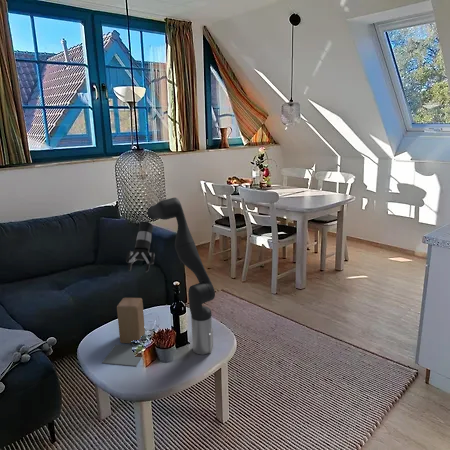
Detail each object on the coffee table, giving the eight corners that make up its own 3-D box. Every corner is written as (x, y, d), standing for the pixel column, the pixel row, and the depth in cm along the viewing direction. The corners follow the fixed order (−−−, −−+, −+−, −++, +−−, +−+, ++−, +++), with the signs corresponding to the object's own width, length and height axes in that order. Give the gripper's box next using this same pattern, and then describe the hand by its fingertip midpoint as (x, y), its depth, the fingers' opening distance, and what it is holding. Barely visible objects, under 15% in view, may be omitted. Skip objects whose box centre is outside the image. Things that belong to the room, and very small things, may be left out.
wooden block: (145, 333, 201) (142, 297, 195) (139, 344, 191) (136, 307, 185) (126, 332, 202) (123, 296, 196) (119, 343, 192) (115, 306, 186)
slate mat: (147, 348, 188) (147, 347, 188) (136, 366, 175) (136, 365, 175) (115, 345, 191) (115, 344, 190) (102, 363, 177) (102, 362, 177)
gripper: (128, 238, 205) (122, 267, 198) (155, 239, 204) (150, 269, 197) (131, 243, 212) (126, 272, 205) (158, 245, 211) (153, 274, 204)
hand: (138, 271), depth 201 cm, fingers open, 8 cm apart
